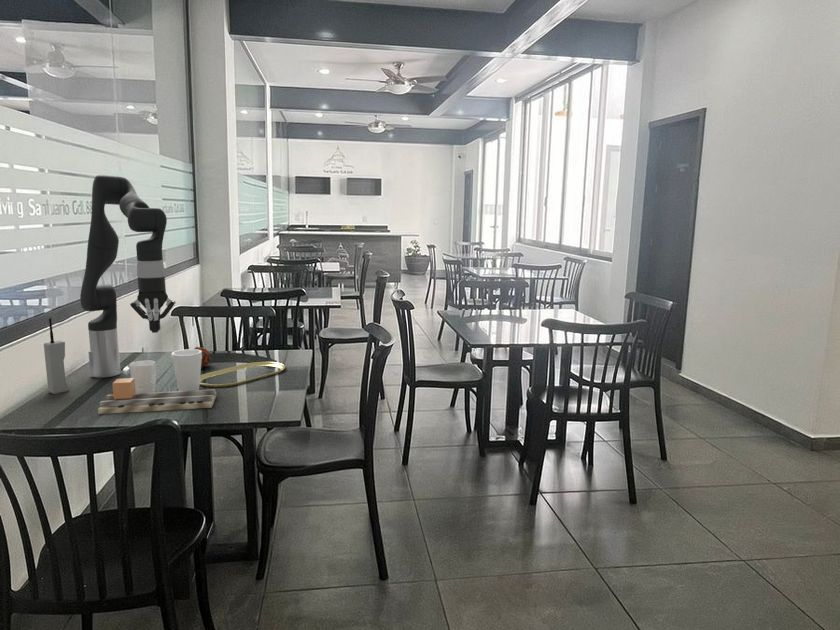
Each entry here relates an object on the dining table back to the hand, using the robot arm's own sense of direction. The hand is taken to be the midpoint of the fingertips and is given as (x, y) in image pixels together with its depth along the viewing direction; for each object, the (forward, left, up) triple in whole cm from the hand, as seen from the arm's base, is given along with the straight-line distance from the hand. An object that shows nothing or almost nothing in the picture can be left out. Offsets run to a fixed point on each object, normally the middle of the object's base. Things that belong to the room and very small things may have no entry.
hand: (155, 332), depth 183 cm
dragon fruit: (+4, +47, -23) cm, 53 cm away
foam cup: (+6, +15, -23) cm, 28 cm away
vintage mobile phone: (-36, +21, -23) cm, 48 cm away
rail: (0, 0, -23) cm, 23 cm away
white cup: (-8, +15, -23) cm, 29 cm away
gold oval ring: (+22, +31, -24) cm, 45 cm away
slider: (-10, 0, -21) cm, 24 cm away
